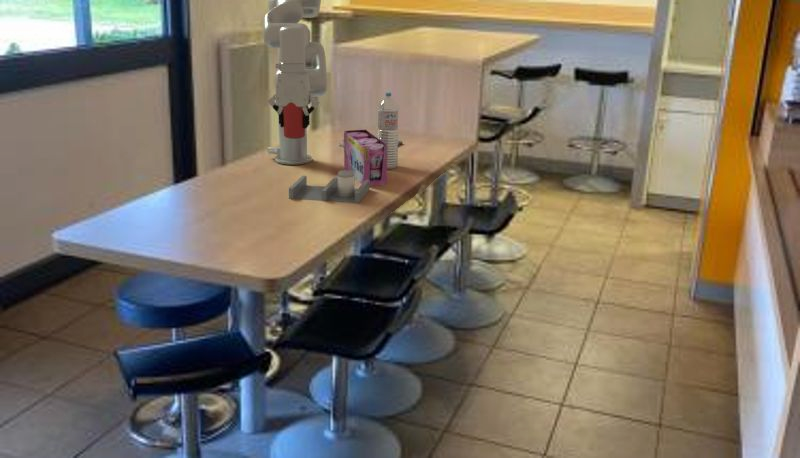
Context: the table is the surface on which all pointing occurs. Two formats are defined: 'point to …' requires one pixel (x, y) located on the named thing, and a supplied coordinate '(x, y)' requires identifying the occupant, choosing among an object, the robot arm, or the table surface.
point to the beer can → (293, 121)
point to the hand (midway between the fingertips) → (294, 126)
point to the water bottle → (389, 128)
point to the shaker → (346, 183)
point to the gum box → (365, 156)
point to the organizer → (325, 191)
